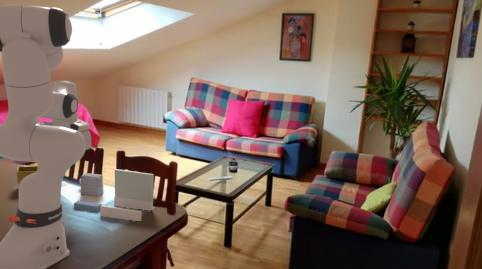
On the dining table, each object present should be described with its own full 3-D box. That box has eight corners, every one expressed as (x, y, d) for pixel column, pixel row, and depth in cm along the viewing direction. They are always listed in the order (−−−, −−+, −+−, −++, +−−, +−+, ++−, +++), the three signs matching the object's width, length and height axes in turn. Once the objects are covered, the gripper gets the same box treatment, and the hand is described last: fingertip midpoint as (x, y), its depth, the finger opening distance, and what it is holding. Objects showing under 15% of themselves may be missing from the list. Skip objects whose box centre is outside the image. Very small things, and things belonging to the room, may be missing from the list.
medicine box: (102, 193, 171) (103, 174, 169) (98, 197, 167) (98, 177, 165) (85, 191, 172) (85, 172, 170) (80, 194, 167) (80, 175, 166)
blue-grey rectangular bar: (97, 212, 151) (97, 206, 151) (73, 208, 153) (73, 203, 152) (101, 209, 154) (101, 204, 154) (78, 206, 156) (78, 200, 155)
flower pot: (18, 186, 171) (18, 166, 169) (40, 184, 175) (40, 165, 173) (16, 192, 163) (16, 172, 162) (40, 191, 167) (39, 171, 165)
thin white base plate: (140, 222, 145) (140, 212, 144) (100, 216, 147) (100, 206, 147) (152, 210, 157) (152, 201, 156) (115, 205, 159) (115, 195, 158)
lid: (152, 174, 153) (153, 174, 153) (114, 169, 155) (115, 169, 156) (152, 201, 156) (153, 200, 156) (115, 196, 158) (115, 195, 159)
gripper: (34, 121, 147) (35, 157, 150) (84, 127, 144) (84, 163, 147) (45, 119, 153) (45, 153, 156) (93, 125, 151) (93, 159, 153)
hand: (64, 158), depth 151 cm, fingers open, 3 cm apart
